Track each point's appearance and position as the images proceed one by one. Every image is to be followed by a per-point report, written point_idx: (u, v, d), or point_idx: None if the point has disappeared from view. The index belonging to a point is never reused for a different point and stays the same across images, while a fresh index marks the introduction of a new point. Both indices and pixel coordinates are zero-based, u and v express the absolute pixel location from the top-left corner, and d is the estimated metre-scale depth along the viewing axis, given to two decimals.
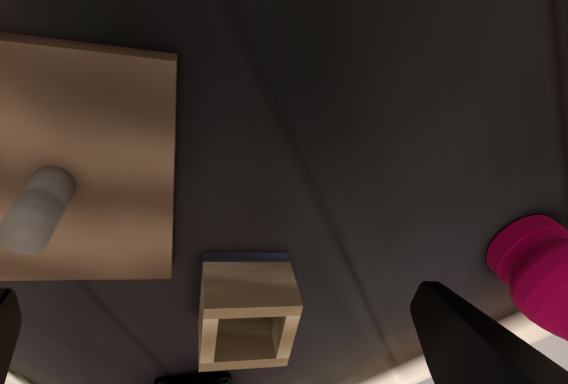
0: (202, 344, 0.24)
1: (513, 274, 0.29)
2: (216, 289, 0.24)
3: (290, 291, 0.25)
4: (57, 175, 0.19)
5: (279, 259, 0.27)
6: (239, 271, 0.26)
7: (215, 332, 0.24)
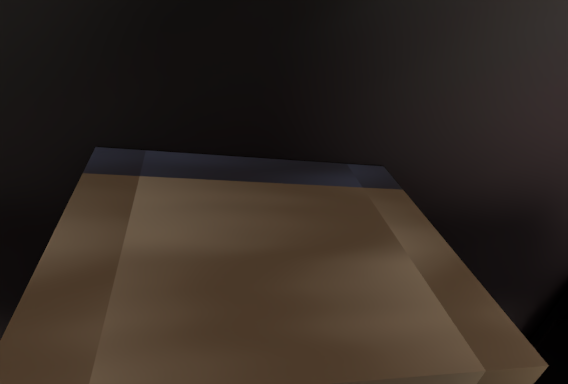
0: None
1: None
2: None
3: None
4: None
5: None
6: None
7: None
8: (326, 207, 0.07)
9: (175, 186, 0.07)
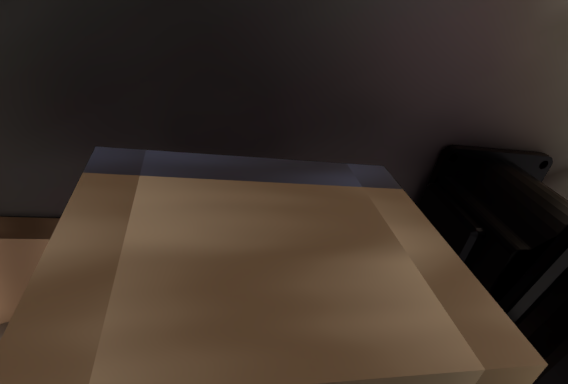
0: None
1: None
2: None
3: None
4: None
5: None
6: None
7: None
8: (326, 206, 0.07)
9: (175, 185, 0.07)
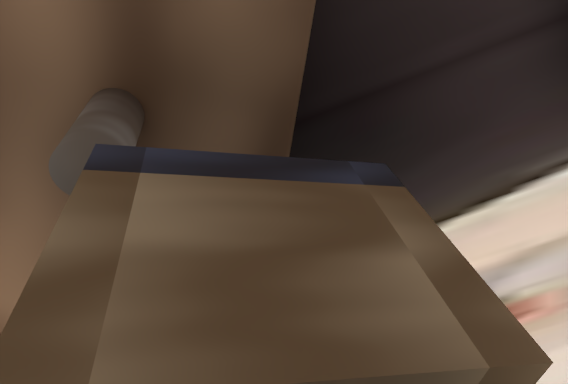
0: None
1: None
2: None
3: None
4: None
5: None
6: None
7: None
8: (328, 204, 0.07)
9: (176, 183, 0.07)
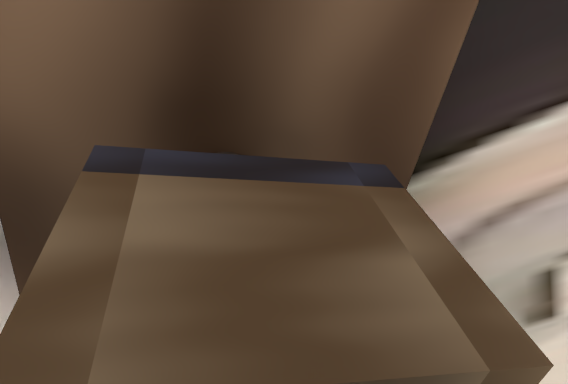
0: None
1: None
2: None
3: None
4: None
5: None
6: None
7: None
8: (327, 205, 0.07)
9: (175, 184, 0.07)
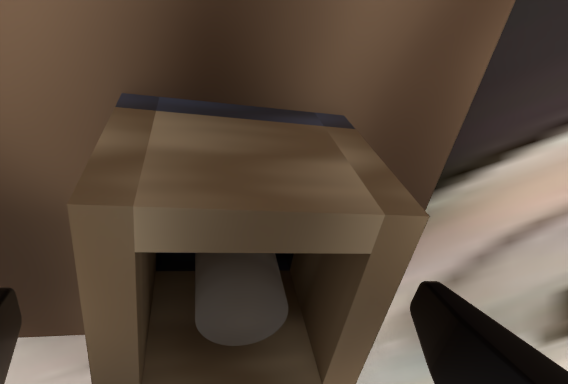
0: None
1: None
2: None
3: None
4: None
5: None
6: None
7: None
8: (293, 135, 0.09)
9: (182, 117, 0.09)
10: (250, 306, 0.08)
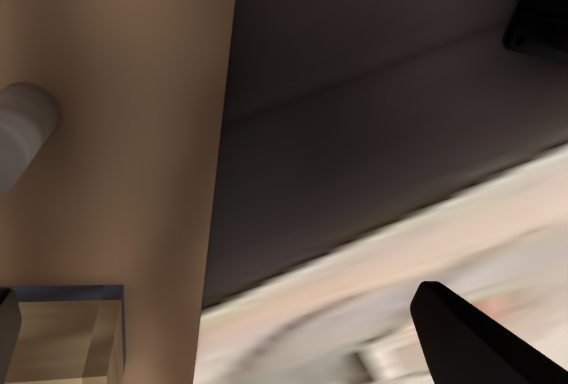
0: None
1: None
2: None
3: None
4: None
5: None
6: None
7: None
8: (73, 313, 0.18)
9: None
10: None
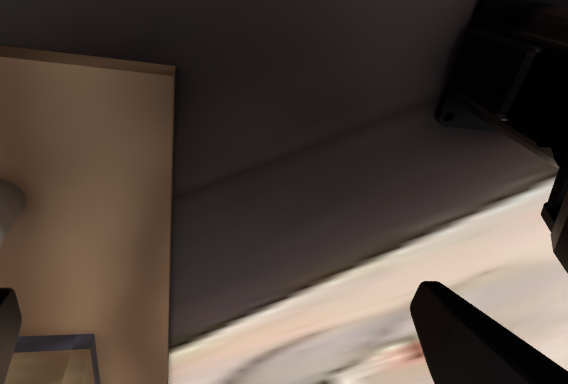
0: None
1: None
2: None
3: None
4: None
5: None
6: None
7: None
8: (46, 363, 0.20)
9: None
10: None
